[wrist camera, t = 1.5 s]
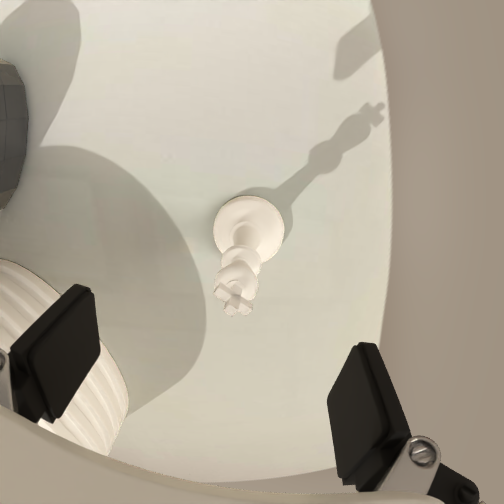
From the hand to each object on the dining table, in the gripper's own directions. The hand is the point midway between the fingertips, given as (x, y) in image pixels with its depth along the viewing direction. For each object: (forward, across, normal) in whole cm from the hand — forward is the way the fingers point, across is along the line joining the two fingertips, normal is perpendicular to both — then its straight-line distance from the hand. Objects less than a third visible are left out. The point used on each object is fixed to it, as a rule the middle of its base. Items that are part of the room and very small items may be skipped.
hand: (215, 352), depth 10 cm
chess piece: (+12, 0, 0) cm, 13 cm away
